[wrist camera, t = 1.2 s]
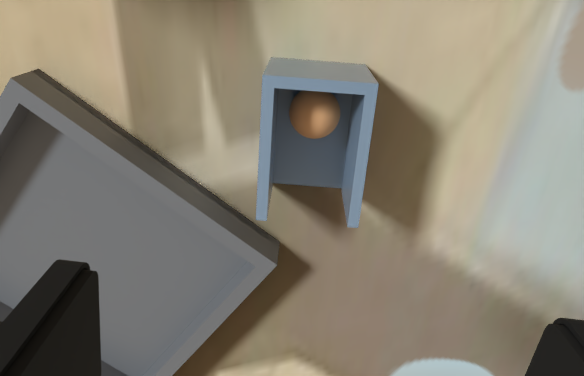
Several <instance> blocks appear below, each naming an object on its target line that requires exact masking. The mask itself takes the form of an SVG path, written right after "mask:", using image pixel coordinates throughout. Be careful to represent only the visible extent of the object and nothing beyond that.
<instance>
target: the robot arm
mask: <svg viewBox="0 0 584 376" xmlns="http://www.w3.org/2000/svg"><path fill="white" fill-rule="evenodd" d="M0 376H101V341H100V309H99V278H98V273H97V271H92V270H90V266H89V264H88V263H87V262H78V261H69V260H61V259H59V260H56V261H55V262H54V263H53V264H52V265H51V266H50V267H49V269H48V270H47V271H46V272H45V273H44V274H43V276H42V277H41V278H40V279H39V280H38V281H37V283H36V284H35V285H34V286H33V287H32V288H31V290H30V291H29V292H28V293H27V294H26V295H25V296H24V298H23V299H22V300H21V301H20V302H19V303H18V305H17V306H16V307H15V308H14V309H13V310H12V312H11V313H10V314H9V315H8V316H7V317H6V318H5V320H4V321H3V322H1V321H0ZM525 376H584V320H575V319H567V318H558V319H557V320H555V321H554V323H553V324H549V325H548V326H547V327H546V328H545V330H544V332H543V335H542V337H541V339H540V342H539V344H538V346H537V349H536V351H535V353H534V356H533V358H532V360H531V363H530V365H529V367H528V370H527V372H526V374H525Z"/></svg>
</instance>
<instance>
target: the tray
mask: <svg viewBox="0 0 584 376" xmlns="http://www.w3.org/2000/svg"><path fill="white" fill-rule="evenodd" d="M279 243H280V242H279V241H277V240H276V239H275V238H273V237H272V236H271V235H269V234H268V233H266V232H265V231H264V230H262V229H261V228H259V227H258V226H257V225H255V224H254V223H252V222H251V221H250V220H248V219H247V218H245V217H244V216H243V215H241V214H240V213H238V212H237V211H236V210H234V209H233V208H232V207H230V206H229V205H227V204H226V203H225V202H223V201H222V200H220V199H219V198H218V197H216V196H215V195H213V194H212V193H211V192H209V191H208V190H206V189H205V188H204V187H202V186H201V185H199V184H198V183H197V182H195V181H194V180H193V179H191V178H190V177H188V176H187V175H186V174H184V173H183V172H181V171H180V170H179V169H177V168H176V167H174V166H173V165H172V164H170V163H169V162H167V161H166V160H165V159H163V158H162V157H160V156H159V155H158V154H156V153H155V152H154V151H152V150H151V149H149V148H148V147H147V146H145V145H144V144H142V143H141V142H140V141H138V140H137V139H135V138H134V137H133V136H131V135H130V134H128V133H127V132H126V131H124V130H123V129H121V128H120V127H119V126H117V125H116V124H114V123H113V122H112V121H110V120H109V119H108V118H106V117H105V116H103V115H102V114H101V113H99V112H98V111H96V110H95V109H94V108H92V107H91V106H89V105H88V104H87V103H85V102H84V101H82V100H81V99H80V98H78V97H77V96H75V95H74V94H73V93H71V92H70V91H69V90H67V89H66V88H64V87H63V86H62V85H60V84H59V83H57V82H56V81H55V80H53V79H52V78H50V77H49V76H48V75H46V74H45V73H43V72H42V71H41V70H39V69H37V70H34V71H31V72H28V73H24V74H21V75H18V76H15V77H12V78H10V80H9V82H8V84H7V86H6V87H5V89H4V91H3V93H2V94H1V96H0V321H1V322H3V321H4V320H5V318H6V317H7V316H8V315H9V314H10V313H11V312H12V310H13V309H14V308H15V307H16V306H17V305H18V303H19V302H20V301H21V300H22V299H23V298H24V296H25V295H26V294H27V293H28V292H29V291H30V290H31V288H32V287H33V286H34V285H35V284H36V283H37V281H38V280H39V279H40V278H41V277H42V276H43V274H44V273H45V272H46V271H47V270H48V269H49V267H50V266H51V265H52V264H53V263H54V262H55V261H56V260H59V259H61V260H69V261H78V262H87V263H88V264H89V266H90V270H92V271H97V273H98V278H99V309H100V341H101V376H172V375H173V374H174V373H175V372H176V371H177V370H178V369H179V368H180V367H181V366H182V365H183V364H184V363H185V362H186V361H187V359H188V358H189V357H190V356H191V355H192V354H193V353H194V352H195V351H196V350H197V349H198V348H199V347H200V346H201V345H202V344H203V343H204V342H205V341H206V340H207V338H208V337H209V336H210V335H211V334H212V333H213V332H214V331H215V330H216V329H217V328H218V327H219V326H220V325H221V324H222V323H223V322H224V321H225V320H226V318H227V317H228V316H229V315H230V314H231V313H232V312H233V311H234V310H235V309H236V308H237V307H238V306H239V305H240V304H241V303H242V302H243V301H244V300H245V298H246V297H247V296H248V295H249V294H250V293H251V292H252V291H253V290H254V289H255V288H256V287H257V286H258V285H259V284H260V283H261V282H262V281H263V280H264V278H265V277H266V276H267V275H268V274H269V273H270V272H271V271H272V270H273V269H274V268H275V267H276V266H277V262H278V253H279Z"/></svg>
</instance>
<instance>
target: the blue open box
mask: <svg viewBox="0 0 584 376" xmlns="http://www.w3.org/2000/svg"><path fill="white" fill-rule="evenodd" d="M378 85H379V84H378V82H377V81H376V79H375V78H374V76H373V75H372V73H371V72H370V70H369V69H368V68H367V66H366V65H365V64H353V63H340V62H327V61H314V60H301V59H288V58H275V57H271V58H270V60H269V63H268V65H267V67H266V69H265V71H264V73H263V78H262V99H261V121H260V143H259V164H258V186H257V208H256V220H263V221H267V216H268V210H269V204H270V198H271V192H272V187H273V183H279V184H291V185H304V186H317V187H330V188H341V191H342V197H343V203H344V209H345V216H346V222H347V227H354V228H358V225H359V218H360V211H361V204H362V197H363V190H364V183H365V176H366V169H367V162H368V155H369V148H370V141H371V134H372V127H373V120H374V113H375V106H376V99H377V92H378ZM302 90H306V91H319V92H331V93H332V94H333V95H334V96H335V98H336V99H337V101H338V103H339V106H340V119H339V122H338V125H337V126H336V128H335V129H334V130H333V131H332V132H331V133H330V134H329V135H327V136H325V137H322V138H318V139H311V138H307V137H304V136H302V135H301V134H299V133H298V132H297V131H296V130H295V129H294V127H293V126H292V124H291V121H290V117H289V109H290V105H291V102H292V100H293V99H294V97H295V96H296V95H297V94H298V93H299V92H300V91H302Z"/></svg>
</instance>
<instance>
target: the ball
mask: <svg viewBox="0 0 584 376" xmlns="http://www.w3.org/2000/svg"><path fill="white" fill-rule="evenodd" d="M289 117H290V121H291V124H292V126H293V127H294V129H295V130H296V131H297V132H298V133H299V134H301V135H302V136H304V137H307V138H311V139H318V138H322V137H325V136H327V135H329V134H330V133H331V132H332V131H333V130H334V129H335V128H336V126H337V125H338V122H339V119H340V106H339V103H338V101H337V99H336V98H335V96H334V95H333V94H332V93H331V92H319V91H306V90H302V91H300V92H299V93H298V94H297V95H296V96H295V97H294V99H293V100H292V102H291V105H290V109H289Z"/></svg>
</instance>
